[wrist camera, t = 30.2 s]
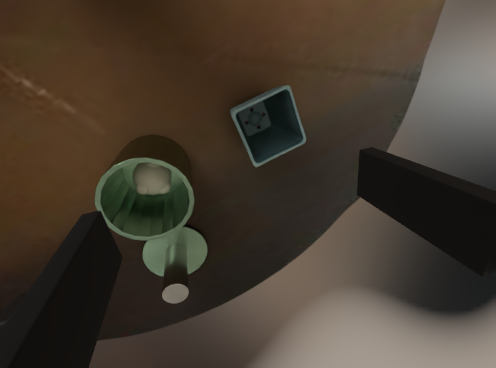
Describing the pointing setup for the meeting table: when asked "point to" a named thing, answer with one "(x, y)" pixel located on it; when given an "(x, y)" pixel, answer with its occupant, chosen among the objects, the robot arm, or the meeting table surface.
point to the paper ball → (151, 179)
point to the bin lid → (175, 260)
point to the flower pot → (269, 125)
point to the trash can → (146, 206)
